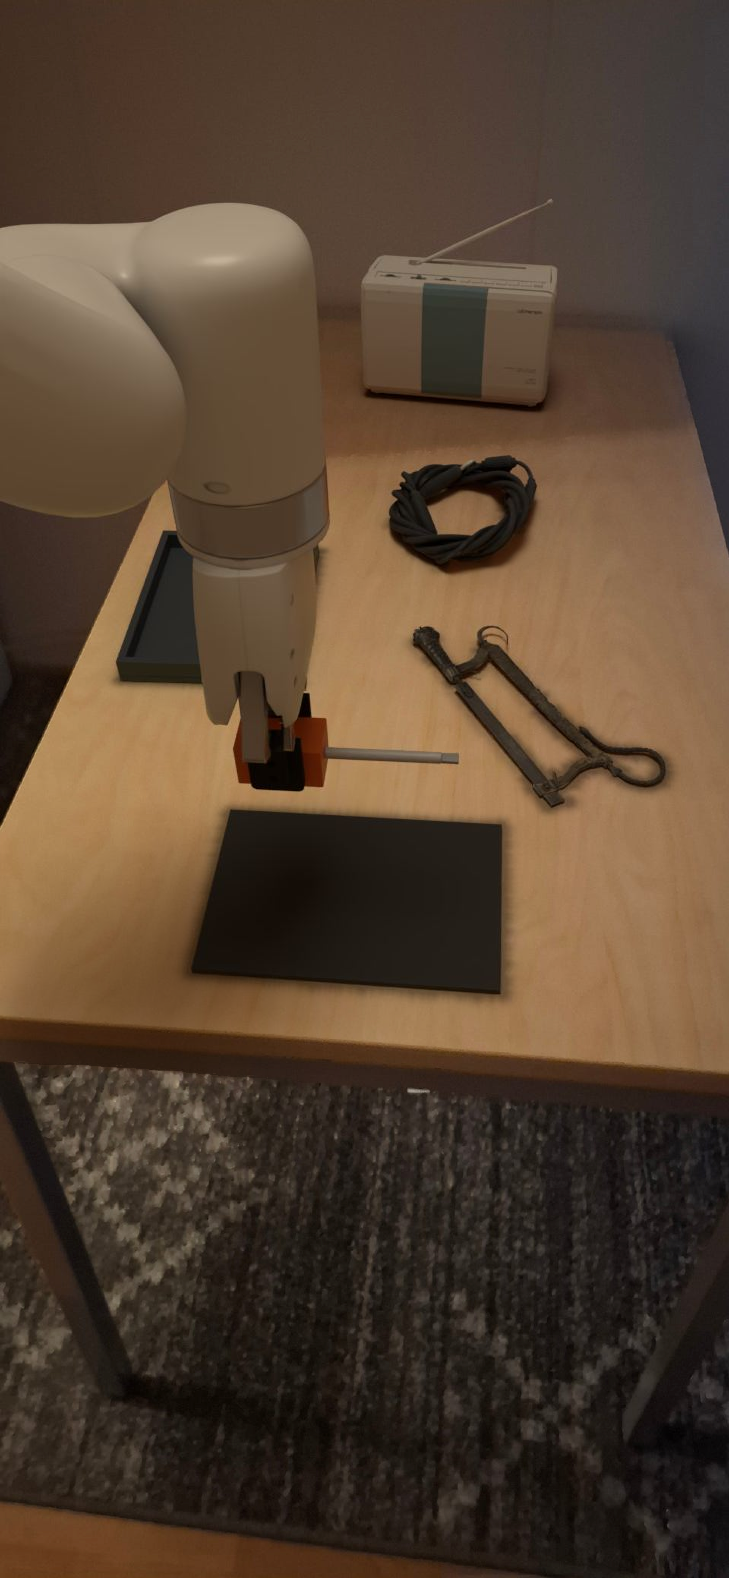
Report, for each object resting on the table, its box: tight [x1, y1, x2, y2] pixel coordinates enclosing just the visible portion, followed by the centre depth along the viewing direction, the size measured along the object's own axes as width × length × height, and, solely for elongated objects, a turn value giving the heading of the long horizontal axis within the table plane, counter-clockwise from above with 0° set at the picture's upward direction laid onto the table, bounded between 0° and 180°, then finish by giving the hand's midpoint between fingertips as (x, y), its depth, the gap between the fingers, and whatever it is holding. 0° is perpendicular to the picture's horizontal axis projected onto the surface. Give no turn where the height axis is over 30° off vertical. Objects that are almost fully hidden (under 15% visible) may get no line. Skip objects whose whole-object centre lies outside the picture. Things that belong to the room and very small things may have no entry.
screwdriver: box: [232, 716, 460, 788], centre depth 62 cm, size 13×3×3 cm, turn 85°
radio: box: [360, 198, 558, 407], centre depth 114 cm, size 21×8×20 cm, turn 77°
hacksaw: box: [412, 625, 667, 806], centre depth 84 cm, size 24×10×2 cm, turn 26°
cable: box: [388, 454, 538, 565], centre depth 101 cm, size 17×14×4 cm
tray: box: [115, 529, 320, 684], centre depth 93 cm, size 19×15×2 cm
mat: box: [190, 808, 503, 994], centre depth 72 cm, size 20×14×1 cm
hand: (283, 762), depth 63 cm, fingers closed on screwdriver, 3 cm apart
